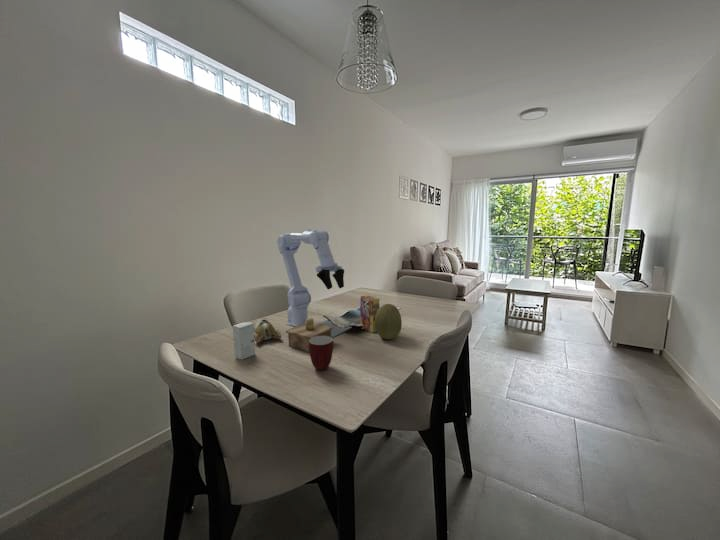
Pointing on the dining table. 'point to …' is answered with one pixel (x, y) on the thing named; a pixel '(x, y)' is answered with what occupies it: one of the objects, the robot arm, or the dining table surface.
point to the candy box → (369, 312)
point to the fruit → (388, 321)
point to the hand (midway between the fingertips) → (336, 287)
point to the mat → (335, 328)
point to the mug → (321, 351)
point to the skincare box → (244, 340)
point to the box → (302, 341)
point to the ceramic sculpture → (265, 331)
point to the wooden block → (309, 329)
